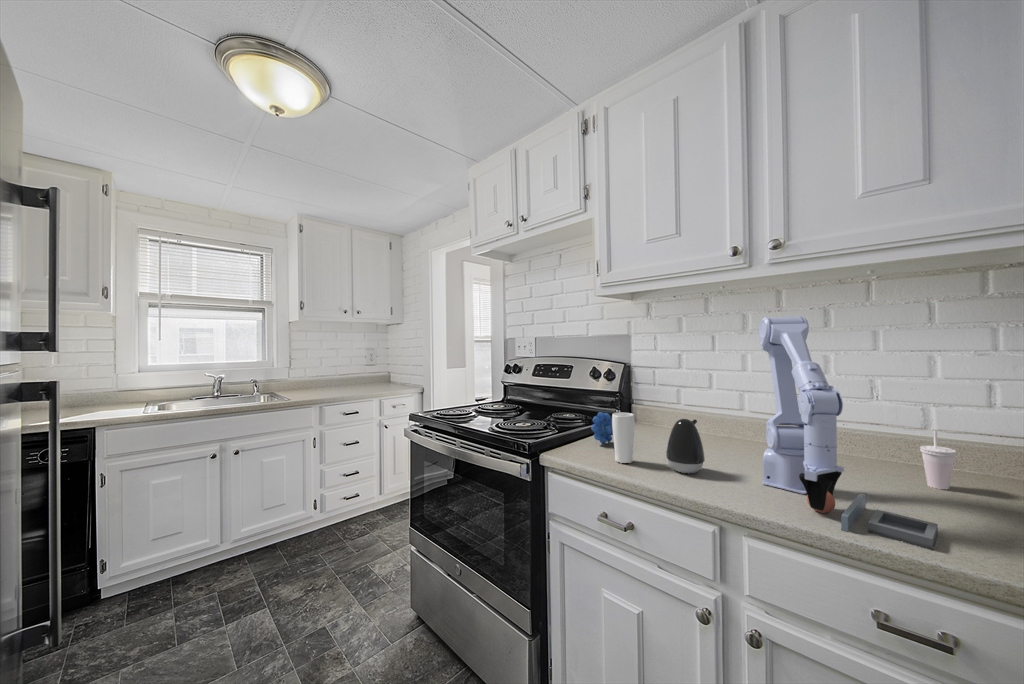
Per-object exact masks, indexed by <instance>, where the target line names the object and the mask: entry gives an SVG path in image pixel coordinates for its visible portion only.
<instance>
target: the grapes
mask: <svg viewBox="0 0 1024 684" xmlns="http://www.w3.org/2000/svg"><path fill="white" fill-rule="evenodd" d="M592 423H593V424H592V425H591V431H592V433H593V437H594V439H595V440H597V441H599V442H600V443H601V445H605V444H606V443H607V442H608V443H611V441H612V440H613V430H612V418H611V415H610V413H608V412H605V413H604V412H602V411H598V413H597V415H595V416H593V418H592Z"/></svg>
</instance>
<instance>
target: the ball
mask: <svg viewBox="0 0 1024 684" xmlns="http://www.w3.org/2000/svg"><path fill="white" fill-rule="evenodd" d="M806 502H807V504H808V505H809V506H810V503H809V499H808V495H807V494H806ZM835 507H836V500H835V496H832V494H831V493H829V492H827V495H826V502H825V507H824V509H823V511H821V510H817V509H813V510H814V511H816V512H819V513H822V514H824V513H825V514H826V513H830V512H832V511H833V510H834V509H835Z"/></svg>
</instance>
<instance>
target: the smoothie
mask: <svg viewBox="0 0 1024 684" xmlns="http://www.w3.org/2000/svg"><path fill="white" fill-rule="evenodd" d="M919 451H920V452H921V456H922V461H923V467H924V468H923V469H924V472H925V479H926V483H927V487H929V486H930V487H929V488H932V487H933V488H932V489H935V488H937V489H936V490H941V489H946V490H945V491H947V489H949V490H950V485H951V479H952V473H953V470H954V469H953V468H954V463H955V457H956V456H957V450H955V449H953V448H950V447H949V448H948V447H945V446H938V431H937V430H933V445H921V446H919Z"/></svg>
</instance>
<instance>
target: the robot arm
mask: <svg viewBox="0 0 1024 684" xmlns="http://www.w3.org/2000/svg"><path fill="white" fill-rule="evenodd" d="M809 332H810V325H809V322H808V320H807V318H806V317H805V316H803V315H799V316H782V317H781V316H780V317H779V316H778V317H777V316H776V317H768V316H764V317H763V318H762V319H761V320H760V321H759V327H758V335H759V343H760V346H761V350H762V351H765V352H767V353H768V358H769V365H770V372H771V379H772V385H773V393H774V398H775V399H774V400H775V408H776V413H775V415H774V414H773V416H771V417H770V418H769V419H768V420H767V421H766V423H765V425H766V429H765V430H766V431H765V441H766V444H767V445H768V447H767V448H766V449H765V450H764V452H763V456H762V477H763V479H762V482H761V483H762V485H765V486H769V487H774V488H778V489H781V490H786V491H790V492H793V493H798V494H802V495H806V496H807V495H808V499H809V503H810V505H809V507H810V508H811V509H813V510H814V509H817V510H821V511H823V509H824V507H825V502H826V495H827V492H829V493H831V494H832V496H833V495H834V492H835V487H836V484H837V483H838V480H839V479H840V477H841V475H842V473H843V472H845V467H844V466H842V465H841V466H840V465H838V449H837V448H838V442H837V441H838V437H837V436H838V435H837V434H838V433H837V432H838V431H837V430H838V429H837V424H838V423H837V418H838V417H839V416H840V415H841V413H842V412H843V410H844V409H843V408H844V407H843V406H844V405H843V404H844V402H843V398H842V395H841V393H840V391H839V390H837V389H835V388H834V386H833V385H829V383H828V380H827V378H826V376H825V374H824V372H823V369H822V367H821V365H820V364H818V363H817V362H815V361H814V362H813V360H812V357H811V355H810V354H811V353H810V351H809V348H808V343H807V342H806V341H807V339H808V335H809ZM793 366H794V367H793ZM797 390H798V392H797ZM797 393H799V396H798V394H797ZM833 497H834V496H833Z"/></svg>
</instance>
